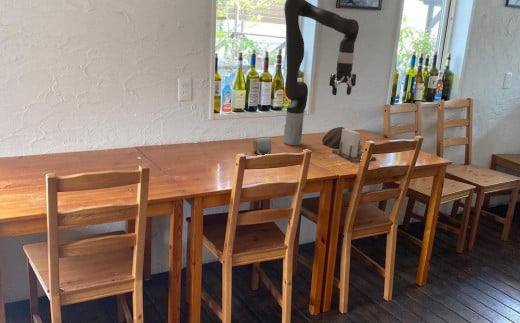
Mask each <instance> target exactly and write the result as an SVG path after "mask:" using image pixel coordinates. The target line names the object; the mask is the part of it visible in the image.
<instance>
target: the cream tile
mask: <svg viewBox="0 0 520 323" xmlns="http://www.w3.org/2000/svg"><path fill="white" fill-rule="evenodd" d="M344 128H345V127H344ZM359 140H360V132H358V131H355V130H354V129H350V128H348V127H347V128H345V129H342V136H341V141H343V142H342V151H341V152H342V153H344V154H346V155H349V150H350V145H352V154H351V157H357V150H358V142H359Z"/></svg>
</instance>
